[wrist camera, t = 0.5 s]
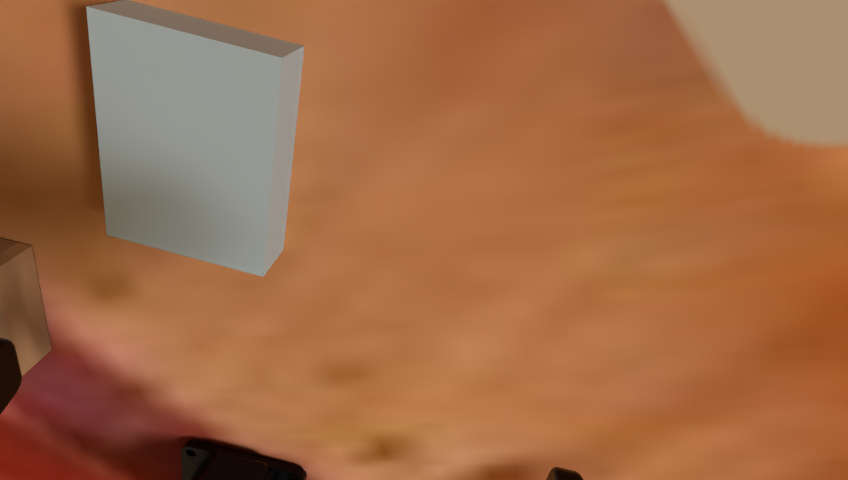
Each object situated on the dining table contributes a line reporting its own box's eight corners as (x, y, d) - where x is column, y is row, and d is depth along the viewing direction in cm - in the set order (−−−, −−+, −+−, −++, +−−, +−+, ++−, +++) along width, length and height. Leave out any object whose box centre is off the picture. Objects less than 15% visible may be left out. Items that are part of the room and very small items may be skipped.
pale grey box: (286, 244, 22) (263, 276, 20) (144, 207, 22) (106, 235, 20) (308, 43, 18) (281, 57, 16) (134, -2, 18) (86, 6, 16)
